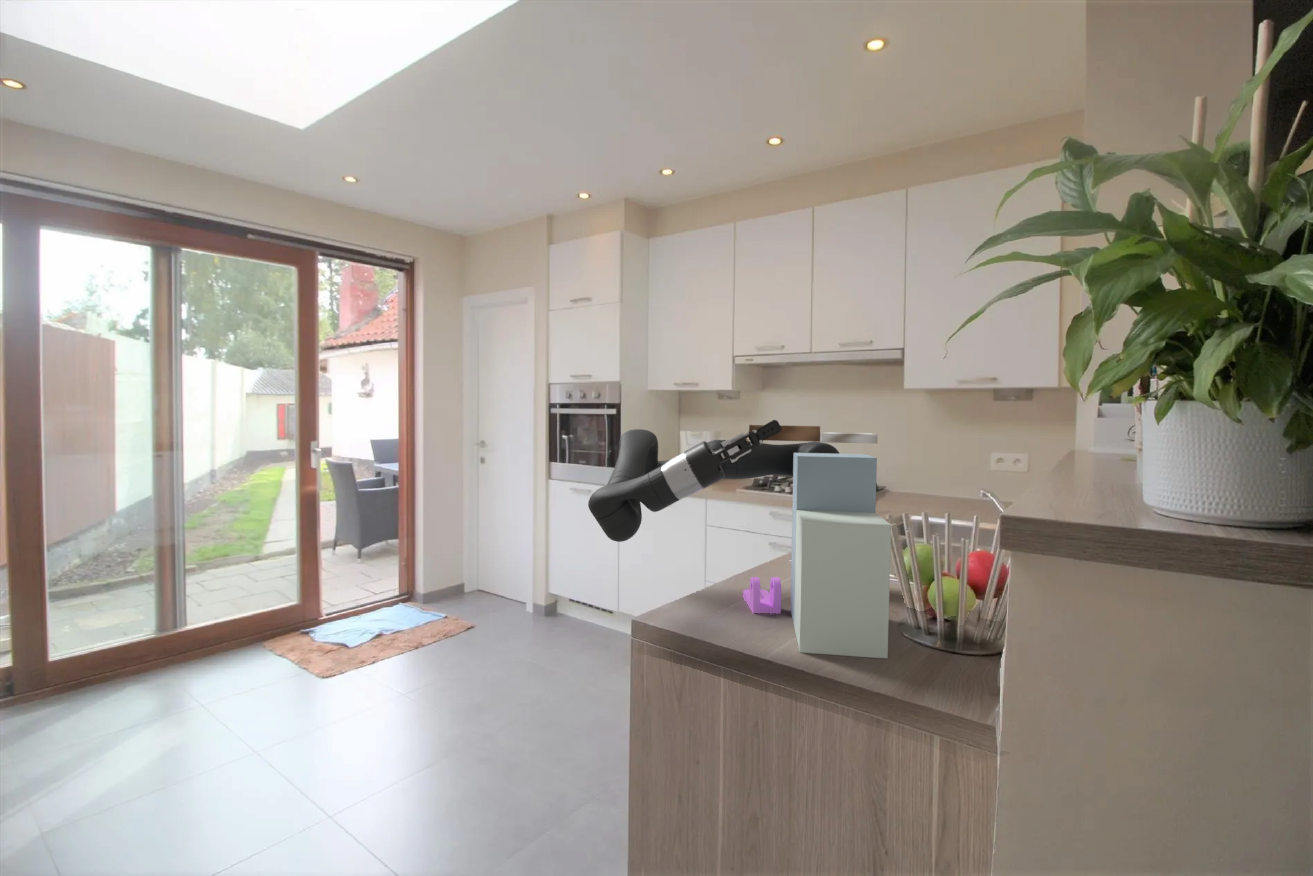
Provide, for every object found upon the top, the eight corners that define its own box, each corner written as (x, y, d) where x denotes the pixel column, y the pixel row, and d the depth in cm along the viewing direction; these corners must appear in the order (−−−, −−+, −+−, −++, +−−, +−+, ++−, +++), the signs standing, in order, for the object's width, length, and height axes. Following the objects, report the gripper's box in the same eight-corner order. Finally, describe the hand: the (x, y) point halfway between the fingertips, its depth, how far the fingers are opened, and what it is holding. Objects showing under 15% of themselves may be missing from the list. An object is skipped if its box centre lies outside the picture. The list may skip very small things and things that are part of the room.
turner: (748, 440, 102) (749, 425, 101) (748, 438, 108) (749, 424, 108) (877, 443, 98) (877, 427, 98) (868, 441, 105) (869, 426, 105)
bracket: (780, 614, 118) (781, 580, 118) (753, 614, 118) (753, 580, 118) (765, 594, 131) (766, 563, 131) (740, 594, 131) (741, 563, 131)
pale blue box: (799, 652, 99) (803, 461, 98) (790, 609, 121) (793, 452, 120) (887, 658, 97) (892, 463, 96) (861, 614, 119) (866, 454, 117)
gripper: (678, 455, 100) (770, 405, 97) (686, 450, 114) (767, 406, 111) (699, 494, 100) (792, 445, 97) (705, 484, 113) (786, 441, 111)
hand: (778, 424), depth 104 cm, fingers closed on turner, 2 cm apart
